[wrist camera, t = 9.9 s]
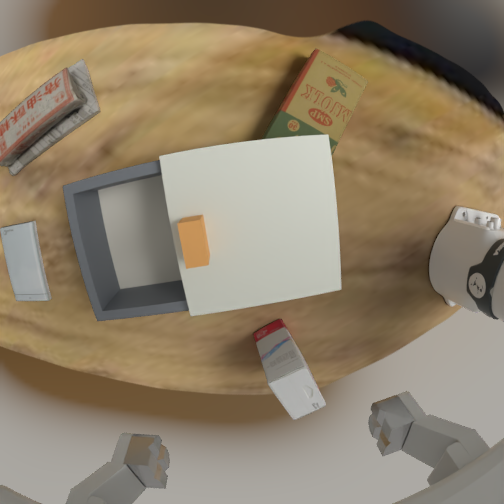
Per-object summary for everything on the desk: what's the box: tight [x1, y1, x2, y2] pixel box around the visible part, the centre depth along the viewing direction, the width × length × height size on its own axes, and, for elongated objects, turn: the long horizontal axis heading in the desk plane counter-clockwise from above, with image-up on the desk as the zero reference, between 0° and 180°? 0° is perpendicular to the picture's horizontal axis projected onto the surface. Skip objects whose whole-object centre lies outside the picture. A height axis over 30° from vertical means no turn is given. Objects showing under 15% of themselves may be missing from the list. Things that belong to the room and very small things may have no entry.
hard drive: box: [0, 221, 52, 301], centre depth 34 cm, size 2×8×12 cm
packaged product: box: [0, 59, 100, 176], centre depth 27 cm, size 18×5×10 cm
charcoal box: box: [63, 160, 189, 321], centre depth 32 cm, size 16×16×8 cm
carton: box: [261, 48, 368, 156], centre depth 32 cm, size 8×16×4 cm, turn 153°
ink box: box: [253, 319, 326, 420], centre depth 36 cm, size 9×5×12 cm, turn 27°
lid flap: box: [159, 134, 341, 316], centre depth 26 cm, size 17×17×4 cm
